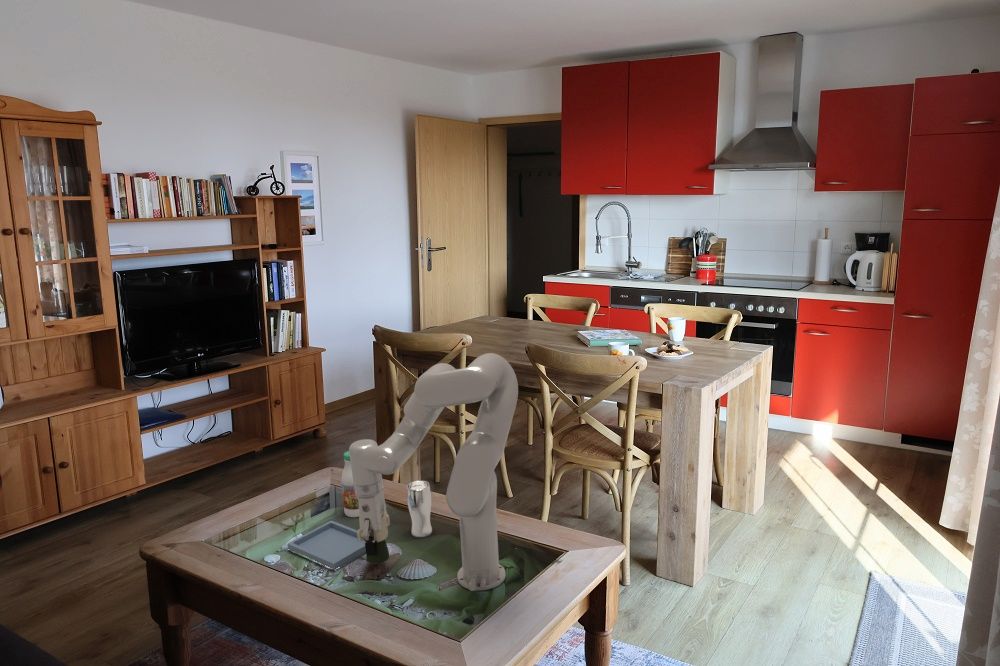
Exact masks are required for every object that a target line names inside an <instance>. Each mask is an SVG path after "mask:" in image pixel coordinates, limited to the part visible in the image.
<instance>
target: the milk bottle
mask: <svg viewBox="0 0 1000 666" xmlns="http://www.w3.org/2000/svg"><path fill="white" fill-rule="evenodd" d="M343 461H344V467H343V470H342V473H341V480H340V483H341V493H342V494H341V495H342V501H343V503H342V504H343V510H344V515H345V516H347V517H349V518H359V517H360V515H359V502H358V497H357V496H356V495H355V490H354V483H353V476H352V469H351V462H350V454H349V450H348V451H345V452H344V453H343Z"/></svg>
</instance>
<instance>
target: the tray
mask: <svg viewBox="0 0 1000 666" xmlns="http://www.w3.org/2000/svg"><path fill="white" fill-rule="evenodd" d="M288 549H290V550H292V551H295V552H297V553H300V554H302V555H305V556H307V557H309V558H311V559H314V560H315V561H317V562H320V563H322V564H324V565H326V566H328V567H330V568H333V569H336V568H338V567H341V566H343V565H345V564H347V565H349V564H351V563H352V562H354V561H356V560H357V559H359V558H360V557H362V556H364V555H366V548H365V543H364V541H363V540H362V541H359V540H358V536H357V529H354V528H352V527H350V526H347V525H344V524H341V523H339V522H336V521H334V520H330V521H328V522H327V521H326V523H324V524H322V525H320V526H318V527H316V528H314V529H312V530H311V531H308V532H307V533H305V534H303V535H301V536H299V537H297V538H295V539H293V540H291V541H289V542H288V543H287V550H288ZM350 562H351V563H350ZM348 563H349V564H348Z"/></svg>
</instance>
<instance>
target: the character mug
mask: <svg viewBox="0 0 1000 666" xmlns="http://www.w3.org/2000/svg"><path fill="white" fill-rule="evenodd" d="M358 521H359V523H358V524H359V528H358V530H357V529H356V530H357V536H358V540H359V541H362V540H363V541H364V537H363V531H362V529H361V524H360V517H358ZM381 524H382V529H381V530H380V531H379V532H377V531H376V541H377V544H378V552H379V554H378V555H375V556H367V555H366V554H365V558H366V559H365V560H366V562H367V563H369V564H383V563H385V562H386V561H388V560H389V558H390V553H389V548H388V545H387V541H386V539H387V538H388V535H389V529H388V527H389V526H390V525H391V521H390V515H389V514H388V513H387V515H385V512H384V515H383V517H382V518H381ZM369 530H373V528H372V526H371V524H370V529H369ZM369 534H370V536H372V537H373V533H369Z"/></svg>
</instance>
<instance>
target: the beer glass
mask: <svg viewBox="0 0 1000 666" xmlns="http://www.w3.org/2000/svg"><path fill="white" fill-rule="evenodd" d="M406 499H407V500H406V501H407V507H408V512H409V515H410V519H411V535H412V536H413V537H416V538H425V537H428V536H430V535H431V534H432V533H433V528H432V525H431V512H432V511H431V509H432V493H431V487H430V483H429V481H427V480H414V481H411V482H409V483H408V484H407V485H406Z"/></svg>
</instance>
